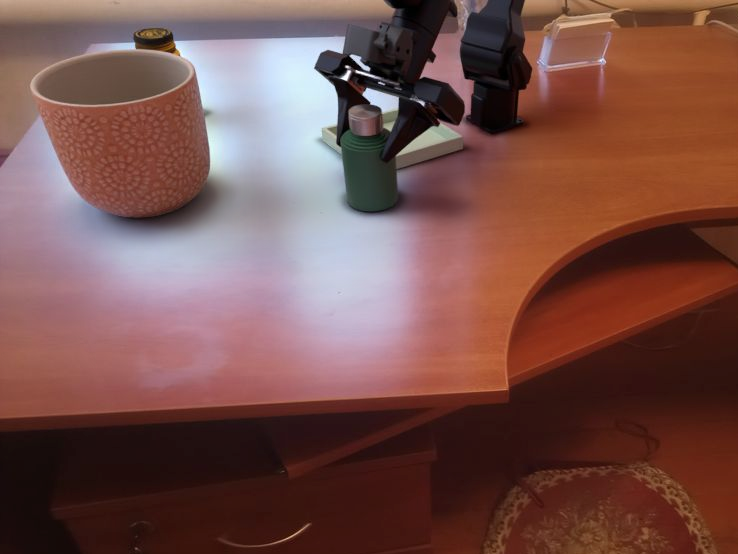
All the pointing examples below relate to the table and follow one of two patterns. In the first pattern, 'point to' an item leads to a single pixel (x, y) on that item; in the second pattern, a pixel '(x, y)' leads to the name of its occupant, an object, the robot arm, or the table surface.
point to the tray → (419, 149)
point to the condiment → (155, 40)
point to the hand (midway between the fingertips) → (361, 153)
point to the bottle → (368, 172)
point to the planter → (127, 129)
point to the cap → (366, 120)
